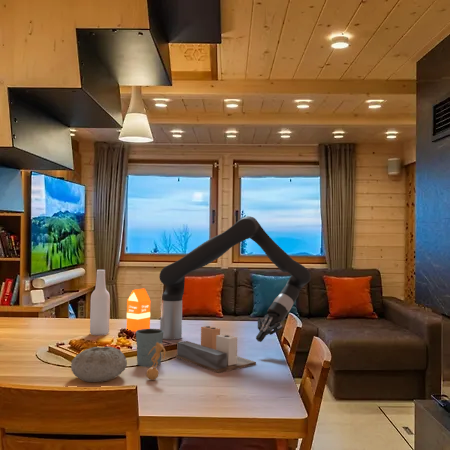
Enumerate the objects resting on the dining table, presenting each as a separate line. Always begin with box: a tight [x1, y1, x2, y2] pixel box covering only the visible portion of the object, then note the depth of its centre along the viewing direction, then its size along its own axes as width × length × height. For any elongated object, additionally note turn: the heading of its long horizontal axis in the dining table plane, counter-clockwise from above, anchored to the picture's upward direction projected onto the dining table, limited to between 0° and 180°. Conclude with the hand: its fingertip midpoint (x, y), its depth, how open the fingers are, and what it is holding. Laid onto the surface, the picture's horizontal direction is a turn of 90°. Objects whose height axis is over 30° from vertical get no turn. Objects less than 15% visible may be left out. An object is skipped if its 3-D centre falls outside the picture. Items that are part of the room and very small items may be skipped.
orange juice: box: [126, 288, 151, 333], centre depth 241 cm, size 8×9×20 cm
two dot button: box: [200, 325, 221, 350], centre depth 193 cm, size 4×7×10 cm, turn 40°
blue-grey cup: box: [135, 328, 164, 368], centre depth 179 cm, size 10×10×12 cm
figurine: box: [145, 342, 167, 381], centre depth 160 cm, size 8×6×12 cm
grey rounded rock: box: [70, 346, 128, 383], centre depth 160 cm, size 18×18×10 cm
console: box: [175, 340, 257, 374], centre depth 184 cm, size 18×26×6 cm
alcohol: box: [89, 269, 111, 336], centre depth 229 cm, size 9×9×30 cm
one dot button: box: [216, 333, 238, 366], centre depth 177 cm, size 4×7×10 cm, turn 40°
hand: (258, 340), depth 193 cm, fingers closed
